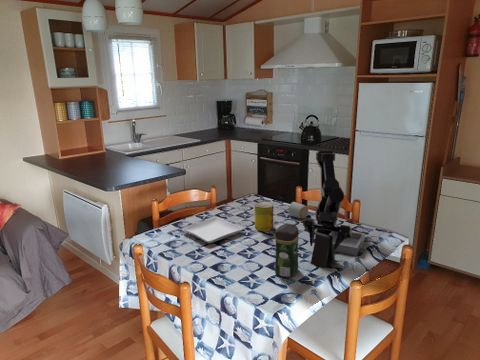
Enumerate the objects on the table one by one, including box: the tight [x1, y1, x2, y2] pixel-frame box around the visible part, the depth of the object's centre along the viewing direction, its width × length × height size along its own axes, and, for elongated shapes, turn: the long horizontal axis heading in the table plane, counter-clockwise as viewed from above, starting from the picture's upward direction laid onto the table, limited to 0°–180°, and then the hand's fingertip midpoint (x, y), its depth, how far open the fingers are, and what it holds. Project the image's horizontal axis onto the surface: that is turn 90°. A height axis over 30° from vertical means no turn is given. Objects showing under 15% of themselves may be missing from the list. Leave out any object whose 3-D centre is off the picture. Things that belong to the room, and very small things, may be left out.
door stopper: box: [310, 232, 336, 269], centre depth 147 cm, size 9×6×12 cm, turn 139°
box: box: [329, 231, 366, 257], centre depth 163 cm, size 14×16×4 cm
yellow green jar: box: [254, 201, 274, 232], centre depth 183 cm, size 9×9×12 cm
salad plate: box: [182, 216, 244, 244], centre depth 178 cm, size 21×21×3 cm
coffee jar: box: [274, 223, 299, 278], centre depth 139 cm, size 10×8×19 cm
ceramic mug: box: [288, 201, 309, 220], centre depth 197 cm, size 11×8×8 cm
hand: (322, 247), depth 146 cm, fingers open, 9 cm apart
